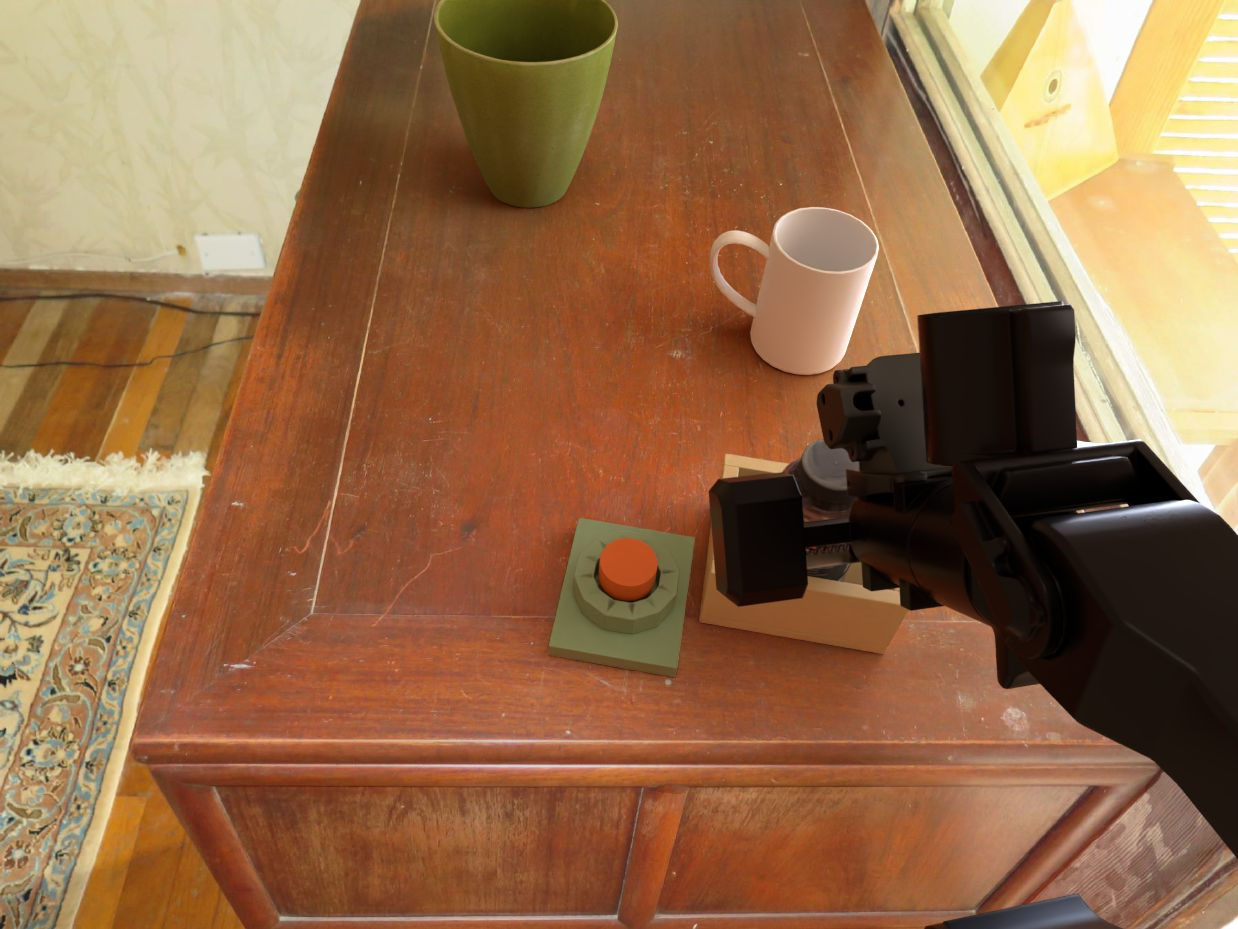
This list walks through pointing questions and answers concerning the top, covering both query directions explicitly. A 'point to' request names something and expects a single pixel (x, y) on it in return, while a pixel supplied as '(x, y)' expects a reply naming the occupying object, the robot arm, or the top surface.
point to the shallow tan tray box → (807, 598)
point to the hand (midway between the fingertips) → (830, 502)
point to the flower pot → (526, 87)
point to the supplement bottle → (824, 493)
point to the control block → (623, 603)
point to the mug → (805, 287)
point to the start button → (627, 569)
